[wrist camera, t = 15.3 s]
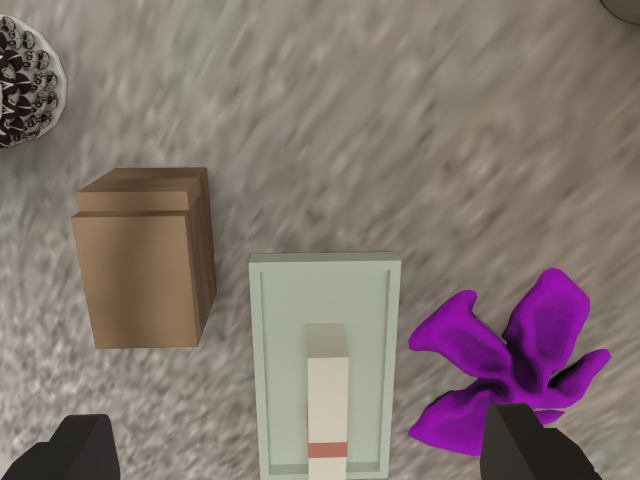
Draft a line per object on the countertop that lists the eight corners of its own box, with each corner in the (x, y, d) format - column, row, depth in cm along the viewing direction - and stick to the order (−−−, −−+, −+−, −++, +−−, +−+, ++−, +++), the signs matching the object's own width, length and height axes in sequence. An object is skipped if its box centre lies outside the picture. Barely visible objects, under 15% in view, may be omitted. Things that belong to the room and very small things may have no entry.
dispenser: (206, 167, 36) (182, 196, 29) (216, 292, 40) (197, 346, 32) (115, 168, 36) (67, 197, 29) (133, 293, 40) (95, 348, 32)
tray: (397, 251, 39) (401, 260, 38) (384, 462, 47) (387, 478, 45) (250, 253, 39) (248, 262, 37) (262, 466, 46) (260, 482, 45)
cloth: (417, 468, 48) (433, 524, 43) (371, 307, 42) (382, 347, 36) (646, 410, 47) (694, 460, 41) (634, 234, 40) (690, 264, 35)
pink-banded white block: (343, 322, 41) (349, 357, 36) (341, 455, 46) (346, 502, 41) (305, 323, 41) (306, 359, 36) (307, 456, 46) (308, 503, 41)
